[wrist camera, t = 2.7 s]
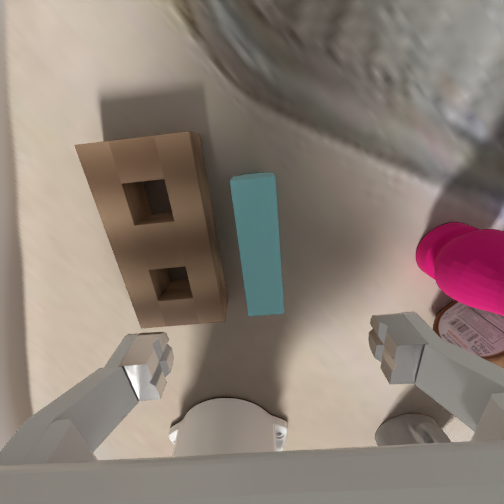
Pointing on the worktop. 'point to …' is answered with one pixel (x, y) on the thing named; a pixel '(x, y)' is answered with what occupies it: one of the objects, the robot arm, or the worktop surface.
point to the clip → (259, 241)
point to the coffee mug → (410, 431)
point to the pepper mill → (466, 264)
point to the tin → (472, 331)
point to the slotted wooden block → (159, 226)
